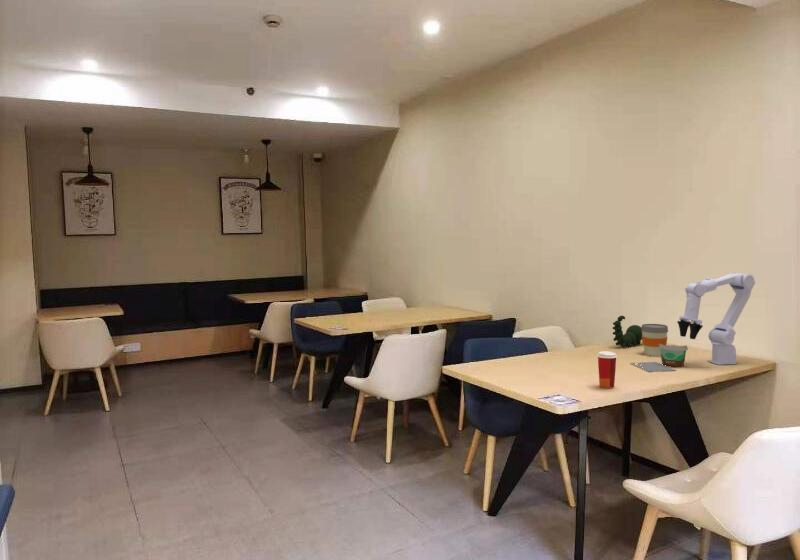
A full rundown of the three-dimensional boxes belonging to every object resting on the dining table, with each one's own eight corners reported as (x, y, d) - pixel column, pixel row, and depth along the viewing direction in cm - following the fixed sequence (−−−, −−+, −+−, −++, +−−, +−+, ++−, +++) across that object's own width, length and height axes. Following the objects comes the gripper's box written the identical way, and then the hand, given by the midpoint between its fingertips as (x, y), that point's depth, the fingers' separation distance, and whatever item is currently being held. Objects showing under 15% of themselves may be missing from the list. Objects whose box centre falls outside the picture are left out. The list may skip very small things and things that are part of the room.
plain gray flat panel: (655, 362, 269) (655, 361, 269) (675, 370, 252) (675, 370, 252) (629, 363, 268) (629, 362, 268) (648, 372, 251) (648, 371, 251)
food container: (657, 366, 261) (658, 345, 260) (658, 363, 266) (658, 343, 265) (687, 368, 255) (687, 347, 254) (687, 366, 260) (687, 344, 260)
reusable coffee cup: (635, 353, 289) (635, 325, 288) (652, 351, 294) (653, 322, 293) (655, 358, 278) (656, 328, 276) (673, 355, 283) (673, 326, 282)
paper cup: (612, 383, 233) (612, 350, 232) (620, 388, 225) (620, 354, 224) (593, 384, 233) (593, 351, 232) (600, 389, 225) (601, 355, 224)
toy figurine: (624, 353, 299) (651, 343, 312) (622, 318, 296) (650, 310, 310) (609, 350, 307) (636, 340, 320) (607, 316, 304) (634, 308, 318)
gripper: (675, 306, 266) (670, 334, 266) (693, 309, 251) (688, 339, 252) (689, 308, 266) (684, 336, 267) (708, 311, 252) (703, 341, 253)
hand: (687, 337), depth 260 cm, fingers open, 7 cm apart
